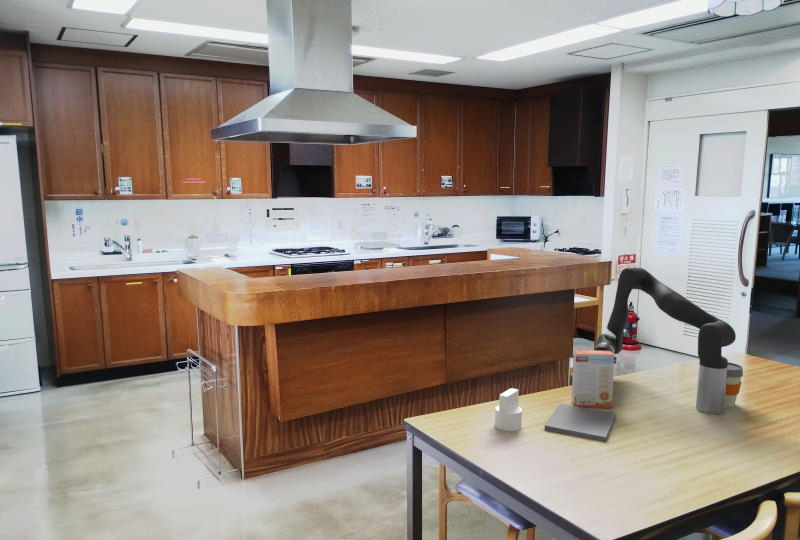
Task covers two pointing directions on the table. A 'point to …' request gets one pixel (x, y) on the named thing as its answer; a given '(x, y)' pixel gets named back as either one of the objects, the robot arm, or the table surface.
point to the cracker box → (592, 378)
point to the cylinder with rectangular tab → (508, 411)
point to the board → (581, 422)
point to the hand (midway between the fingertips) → (596, 363)
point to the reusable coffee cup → (733, 383)
